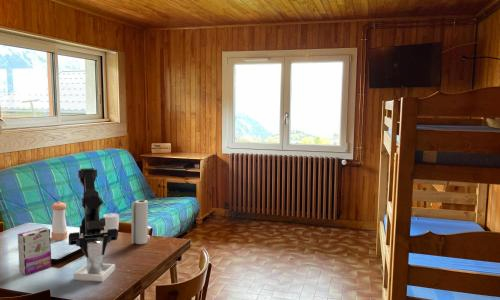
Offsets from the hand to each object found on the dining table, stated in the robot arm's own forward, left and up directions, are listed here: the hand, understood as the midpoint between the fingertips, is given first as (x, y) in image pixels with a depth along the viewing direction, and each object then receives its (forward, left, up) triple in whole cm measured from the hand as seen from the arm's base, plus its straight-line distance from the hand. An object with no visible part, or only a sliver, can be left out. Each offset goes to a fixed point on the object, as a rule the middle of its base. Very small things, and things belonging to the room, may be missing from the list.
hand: (95, 255), depth 158 cm
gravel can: (-1, +1, -7) cm, 7 cm away
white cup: (-17, +52, -9) cm, 55 cm away
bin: (-1, +1, -8) cm, 8 cm away
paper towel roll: (+3, +41, -9) cm, 42 cm away
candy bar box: (-27, +2, -9) cm, 28 cm away
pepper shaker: (-39, +40, -9) cm, 56 cm away
